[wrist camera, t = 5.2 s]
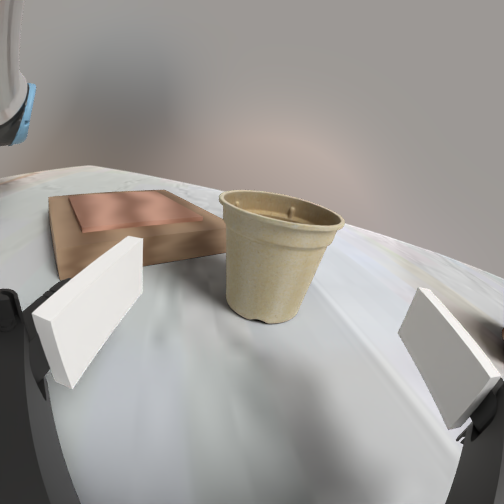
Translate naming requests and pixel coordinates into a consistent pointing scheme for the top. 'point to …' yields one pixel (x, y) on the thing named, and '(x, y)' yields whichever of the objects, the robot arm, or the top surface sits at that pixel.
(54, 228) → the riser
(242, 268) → the flower pot
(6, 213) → the top surface
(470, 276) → the top surface
